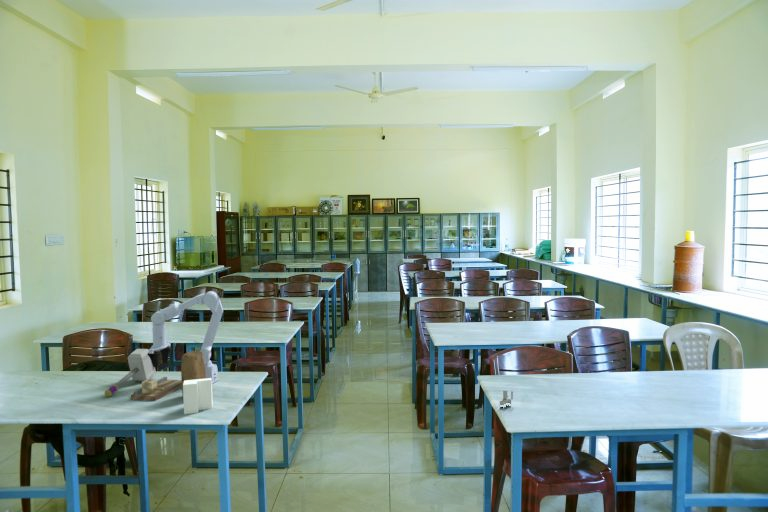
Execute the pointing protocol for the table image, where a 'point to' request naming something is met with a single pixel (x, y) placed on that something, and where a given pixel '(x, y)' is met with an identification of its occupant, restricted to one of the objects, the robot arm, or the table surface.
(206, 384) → the corner bracket
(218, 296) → the robot arm
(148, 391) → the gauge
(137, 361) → the hammer
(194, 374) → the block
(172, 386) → the board
